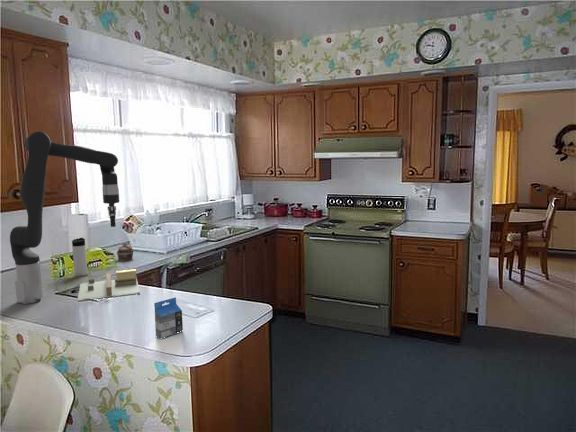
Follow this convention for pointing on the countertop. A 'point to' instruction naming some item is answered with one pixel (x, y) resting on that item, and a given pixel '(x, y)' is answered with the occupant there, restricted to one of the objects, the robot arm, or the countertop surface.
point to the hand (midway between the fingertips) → (113, 225)
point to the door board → (103, 290)
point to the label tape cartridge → (167, 318)
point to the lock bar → (126, 275)
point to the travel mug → (79, 257)
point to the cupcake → (125, 252)
